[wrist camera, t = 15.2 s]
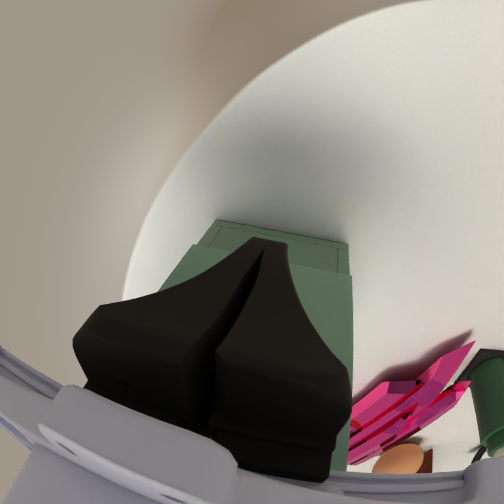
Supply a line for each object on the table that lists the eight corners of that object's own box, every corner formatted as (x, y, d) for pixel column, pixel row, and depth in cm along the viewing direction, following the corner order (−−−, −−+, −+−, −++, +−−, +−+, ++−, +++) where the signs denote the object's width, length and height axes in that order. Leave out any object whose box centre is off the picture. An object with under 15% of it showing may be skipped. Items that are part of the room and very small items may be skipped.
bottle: (460, 383, 25) (474, 475, 16) (482, 355, 23) (506, 453, 14) (490, 384, 25) (507, 469, 16) (512, 357, 22) (538, 447, 13)
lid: (336, 501, 8) (343, 496, 7) (80, 425, 9) (72, 416, 9) (348, 286, 18) (351, 275, 18) (193, 254, 19) (192, 243, 19)
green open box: (314, 352, 28) (310, 385, 24) (214, 330, 29) (200, 360, 26) (348, 244, 21) (349, 276, 18) (215, 219, 23) (195, 245, 20)
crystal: (302, 471, 32) (457, 368, 18) (306, 434, 36) (440, 316, 22) (356, 477, 32) (510, 382, 18) (356, 444, 37) (493, 338, 23)
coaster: (453, 383, 26) (454, 386, 26) (480, 348, 23) (481, 352, 23) (489, 384, 25) (490, 388, 25) (516, 352, 22) (517, 355, 22)
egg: (435, 460, 31) (389, 486, 34) (418, 431, 35) (374, 458, 38) (424, 471, 27) (373, 497, 30) (406, 438, 31) (357, 466, 34)
